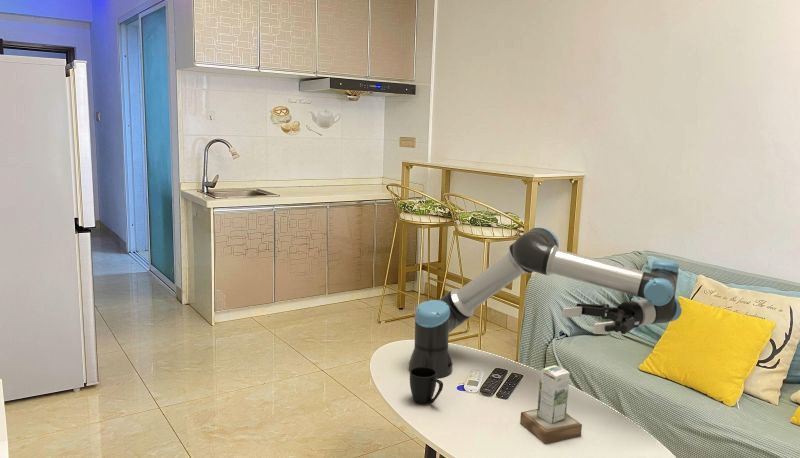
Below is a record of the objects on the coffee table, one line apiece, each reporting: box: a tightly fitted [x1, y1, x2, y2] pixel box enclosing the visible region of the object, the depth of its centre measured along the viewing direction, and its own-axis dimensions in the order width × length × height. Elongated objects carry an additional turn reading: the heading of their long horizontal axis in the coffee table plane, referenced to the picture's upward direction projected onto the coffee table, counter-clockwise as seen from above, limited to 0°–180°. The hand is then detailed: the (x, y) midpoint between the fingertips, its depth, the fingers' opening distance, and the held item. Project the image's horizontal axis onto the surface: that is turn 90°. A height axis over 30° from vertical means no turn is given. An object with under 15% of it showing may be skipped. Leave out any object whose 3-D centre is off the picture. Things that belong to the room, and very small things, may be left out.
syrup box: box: [537, 364, 571, 424], centre depth 169 cm, size 6×6×14 cm
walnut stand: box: [519, 408, 583, 445], centre depth 171 cm, size 12×12×4 cm
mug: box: [409, 367, 444, 406], centre depth 185 cm, size 8×12×10 cm
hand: (578, 320), depth 173 cm, fingers open, 13 cm apart
